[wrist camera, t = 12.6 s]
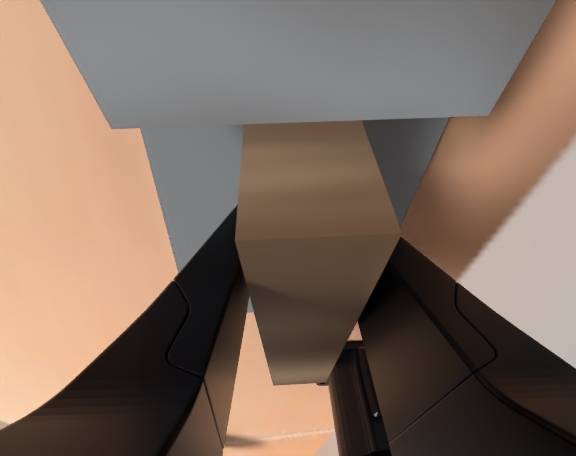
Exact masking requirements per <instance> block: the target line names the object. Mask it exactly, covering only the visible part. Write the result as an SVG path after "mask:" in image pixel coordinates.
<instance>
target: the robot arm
mask: <svg viewBox="0 0 576 456" xmlns="http://www.w3.org/2000/svg"><path fill="white" fill-rule="evenodd" d="M237 207H238V204H237V205H236V207H235V208H234V209H233V210H232V211H231V212H230V214H229V215H228V216H227V217H226V218H225V219H224V221H223V222H222V223H221V224H220V225H219V226H218V228H217V229H216V230H215V231H214V232H213V233H212V235H211V236H210V237H209V238H208V239H207V241H206V242H205V243H204V244H203V245H202V246H201V248H200V249H199V250H198V251H197V252H196V253H195V255H194V256H193V257H192V258H191V259H190V260H189V262H188V263H187V264H186V265H185V266H184V267H183V269H182V270H181V271H180V272H179V273H178V274H177V276H176V277H175V278H174V281H171V282H170V284H169V285H168V286H167V287H166V288H165V289H164V291H163V292H162V293H161V294H160V295H159V296H158V297H157V298H156V300H155V301H154V302H153V303H152V304H151V305H150V306H149V307H148V308H147V309H146V310H145V311H144V312H143V313H142V314H141V315H140V316H139V317H138V318H137V319H136V320H135V321H134V322H133V323H132V324H131V325H130V326H129V327H128V328H127V329H126V330H125V331H124V332H123V333H122V334H121V335H120V336H119V337H118V338H117V339H116V340H115V341H114V342H113V343H112V344H110V345H109V346H108V347H107V348H106V349H105V350H104V351H103V352H102V353H101V354H100V355H99V356H98V357H97V358H96V359H95V360H94V361H93V362H91V363H90V364H89V365H88V366H87V367H86V368H85V369H84V370H83V371H82V372H81V373H80V374H79V375H78V376H77V377H76V378H75V379H74V380H72V381H71V382H70V383H69V384H68V385H67V386H66V387H65V388H64V389H62V390H61V391H60V392H59V393H58V394H56V395H55V396H54V397H53V398H51V399H50V400H49V401H47V402H46V403H45V404H43V405H42V406H40V407H39V408H38V409H36V410H34V411H33V412H31V413H30V414H28V415H27V416H25V417H23V418H22V419H20V420H18V421H16V422H14V423H12V424H10V425H8V426H7V427H5V428H3V429H1V430H0V456H222V455H223V448H224V443H225V437H226V431H227V425H228V419H229V413H230V408H231V402H232V396H233V390H234V384H235V378H236V372H237V366H238V361H239V355H240V349H241V343H242V337H243V331H244V325H245V319H246V314H247V308H248V302H249V296H250V295H249V292H248V288H247V284H246V280H245V277H244V273H243V269H242V265H241V262H240V258H239V254H238V250H237V247H236V243H235V233H236V220H237ZM358 324H359V328H360V332H361V336H362V340H363V343H346V344H345V346H344V348H343V350H342V352H341V354H340V356H339V357H338V359H337V361H336V363H335V365H334V367H333V369H332V371H331V373H330V375H329V377H328V379H327V381H326V382H325V383H317V385H319V386H326V385H329V392H330V398H331V405H332V412H333V418H334V425H335V432H336V438H337V445H338V452H339V456H576V369H575V368H574V367H572V366H571V365H570V364H568V363H567V362H565V361H564V360H563V359H561V358H560V357H558V356H557V355H555V354H554V353H552V352H551V351H550V350H548V349H547V348H545V347H544V346H543V345H541V344H540V343H538V342H537V341H535V340H534V339H533V338H531V337H530V336H528V335H527V334H526V333H524V332H523V331H521V330H520V329H518V328H517V327H516V326H514V325H513V324H511V323H510V322H509V321H507V320H506V319H505V318H503V317H502V316H500V315H499V314H497V313H496V312H495V311H493V310H492V309H491V308H489V307H488V306H487V305H486V304H484V303H483V302H482V301H480V300H479V299H478V298H477V297H475V296H474V295H473V294H471V293H470V292H469V291H468V290H466V289H465V288H464V287H463V286H462V285H460V284H459V283H456V281H455V280H454V279H453V278H451V277H450V276H449V275H448V274H447V273H445V272H444V271H443V270H442V269H440V268H439V267H438V266H437V265H435V264H434V263H433V262H432V261H430V260H429V259H428V258H427V257H425V256H424V255H423V254H422V253H420V252H419V251H418V250H417V249H416V248H414V247H413V246H412V245H411V244H409V243H408V242H407V241H406V240H404V239H403V238H402V237H400V238H399V240H398V242H397V244H396V246H395V248H394V250H393V252H392V254H391V256H390V258H389V260H388V262H387V264H386V266H385V268H384V270H383V272H382V274H381V276H380V277H379V279H378V281H377V283H376V285H375V287H374V289H373V291H372V293H371V295H370V297H369V299H368V301H367V303H366V305H365V307H364V309H363V311H362V313H361V315H360V317H359V318H358Z"/></svg>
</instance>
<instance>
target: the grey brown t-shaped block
mask: <svg viewBox="0 0 576 456" xmlns="http://www.w3.org/2000/svg"><path fill="white" fill-rule="evenodd" d="M40 1H41V3H42V5H43V6H44V8H45V10H46V12H47V14H48V15H49V17H50V19H51V21H52V23H53V24H54V26H55V28H56V30H57V32H58V33H59V35H60V37H61V39H62V41H63V42H64V44H65V46H66V48H67V50H68V51H69V53H70V55H71V57H72V59H73V60H74V62H75V64H76V66H77V68H78V69H79V71H80V73H81V75H82V76H83V78H84V80H85V82H86V84H87V85H88V87H89V89H90V91H91V93H92V94H93V96H94V98H95V100H96V102H97V103H98V105H99V107H100V109H101V111H102V112H103V114H104V116H105V118H106V120H107V121H108V123H109V125H110V127H111V129H125V128H153V127H182V126H210V125H239V124H244V128H243V142H242V155H241V168H240V181H239V194H238V207H237V220H236V233H235V243H236V247H237V250H238V254H239V258H240V262H241V265H242V269H243V273H244V277H245V280H246V284H247V288H248V292H249V295H250V299H251V303H252V307H253V310H254V314H255V318H256V322H257V326H258V329H259V333H260V337H261V341H262V344H263V348H264V352H265V356H266V359H267V363H268V367H269V371H270V374H271V378H272V382H273V385H289V384H307V383H325V382H326V381H327V379H328V377H329V375H330V373H331V371H332V369H333V367H334V365H335V363H336V361H337V359H338V357H339V356H340V354H341V352H342V350H343V348H344V346H345V344H346V342H347V340H348V338H349V336H350V334H351V332H352V330H353V328H354V326H355V324H356V322H357V320H358V318H359V317H360V315H361V313H362V311H363V309H364V307H365V305H366V303H367V301H368V299H369V297H370V295H371V293H372V291H373V289H374V287H375V285H376V283H377V281H378V279H379V277H380V276H381V274H382V272H383V270H384V268H385V266H386V264H387V262H388V260H389V258H390V256H391V254H392V252H393V250H394V248H395V246H396V244H397V242H398V240H399V238H400V237H401V235H402V232H401V229H400V226H399V223H398V220H397V218H396V215H395V212H394V209H393V207H392V204H391V201H390V198H389V195H388V193H387V190H386V187H385V184H384V181H383V179H382V176H381V173H380V170H379V168H378V165H377V162H376V159H375V156H374V154H373V151H372V148H371V145H370V143H369V140H368V137H367V134H366V131H365V129H364V126H363V123H362V120H382V119H411V118H439V117H468V116H488V115H489V114H490V112H491V110H492V109H493V107H494V105H495V104H496V102H497V100H498V98H499V97H500V95H501V93H502V92H503V90H504V88H505V87H506V85H507V83H508V82H509V80H510V78H511V76H512V75H513V73H514V71H515V70H516V68H517V66H518V65H519V63H520V61H521V59H522V58H523V56H524V54H525V53H526V51H527V49H528V48H529V46H530V44H531V43H532V41H533V39H534V37H535V36H536V34H537V32H538V31H539V29H540V27H541V26H542V24H543V22H544V20H545V19H546V17H547V15H548V14H549V12H550V10H551V9H552V7H553V5H554V4H555V2H556V0H40Z"/></svg>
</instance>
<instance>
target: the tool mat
mask: <svg viewBox="0 0 576 456" xmlns="http://www.w3.org/2000/svg"><path fill="white" fill-rule="evenodd" d="M448 119H449V117H439V118H411V119H382V120H362V123H363V126H364V129H365V131H366V134H367V137H368V140H369V143H370V145H371V148H372V151H373V154H374V156H375V159H376V162H377V165H378V168H379V170H380V173H381V176H382V179H383V181H384V184H385V187H386V190H387V193H388V195H389V198H390V201H391V204H392V207H393V209H394V212H395V215H396V218H397V220H398V223H399V226H401V224H402V221H403V219H404V217H405V215H406V213H407V210H408V208H409V206H410V204H411V201H412V199H413V197H414V195H415V192H416V190H417V188H418V186H419V184H420V181H421V179H422V177H423V175H424V172H425V170H426V168H427V166H428V164H429V161H430V159H431V157H432V155H433V152H434V150H435V148H436V146H437V143H438V141H439V139H440V137H441V135H442V132H443V130H444V128H445V126H446V123H447V121H448ZM243 128H244V124H239V125H210V126H182V127H153V128H140V129H141V133H142V136H143V140H144V144H145V148H146V152H147V155H148V159H149V163H150V167H151V171H152V174H153V178H154V182H155V186H156V190H157V193H158V197H159V201H160V205H161V208H162V212H163V216H164V220H165V224H166V227H167V231H168V235H169V239H170V243H171V246H172V250H173V254H174V258H175V262H176V265H177V269H178V273H179V272H180V271H181V270H182V269H183V267H184V266H185V265H186V264H187V263H188V262H189V260H190V259H191V258H192V257H193V256H194V255H195V253H196V252H197V251H198V250H199V249H200V248H201V246H202V245H203V244H204V243H205V242H206V241H207V239H208V238H209V237H210V236H211V235H212V233H213V232H214V231H215V230H216V229H217V228H218V226H219V225H220V224H221V223H222V222H223V221H224V219H225V218H226V217H227V216H228V215H229V214H230V212H231V211H232V210H233V209H234V208H235V207H236V205H237V204H238V194H239V181H240V168H241V155H242V142H243ZM247 312H254V310H253V307H252V303H251V299H250V296H249V302H248V308H247Z"/></svg>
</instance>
